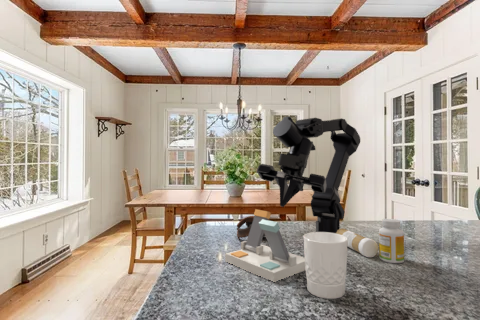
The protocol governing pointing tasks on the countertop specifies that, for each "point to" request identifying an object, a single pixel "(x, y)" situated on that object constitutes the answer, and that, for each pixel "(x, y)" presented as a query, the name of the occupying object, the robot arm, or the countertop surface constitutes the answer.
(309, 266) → the white cup
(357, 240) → the sprinkles bottle
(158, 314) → the countertop surface
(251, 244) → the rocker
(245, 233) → the pottery mug
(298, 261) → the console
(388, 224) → the supplement bottle
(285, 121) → the robot arm
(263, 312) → the countertop surface
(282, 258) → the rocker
